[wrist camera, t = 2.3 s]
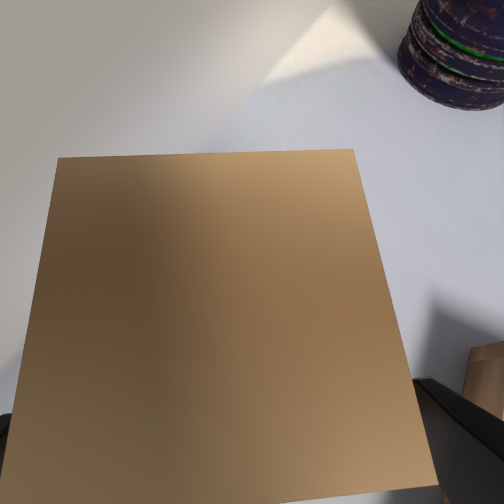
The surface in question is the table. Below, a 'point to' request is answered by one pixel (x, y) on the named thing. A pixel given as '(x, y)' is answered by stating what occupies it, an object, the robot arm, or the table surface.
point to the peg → (212, 338)
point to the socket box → (485, 380)
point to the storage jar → (456, 53)
